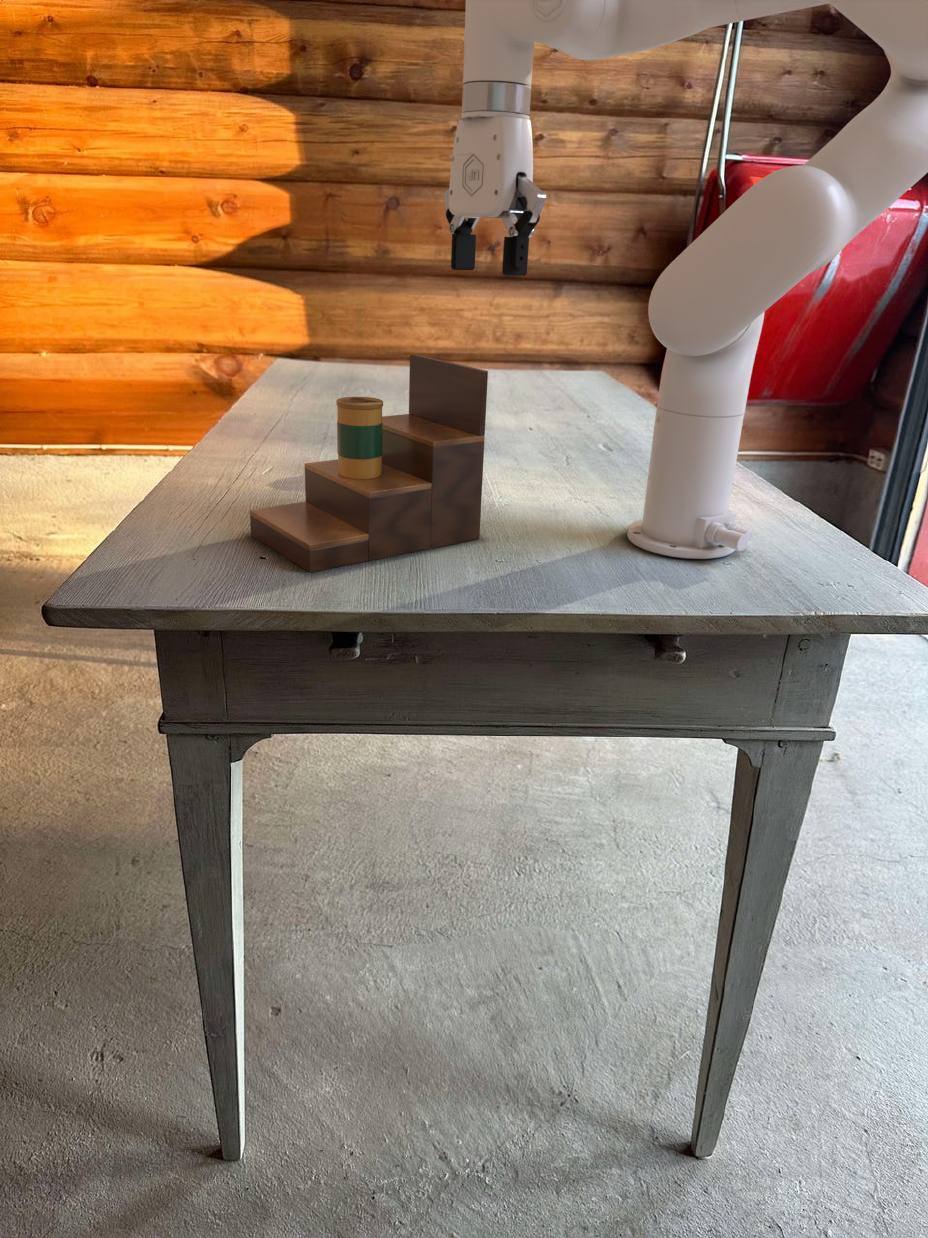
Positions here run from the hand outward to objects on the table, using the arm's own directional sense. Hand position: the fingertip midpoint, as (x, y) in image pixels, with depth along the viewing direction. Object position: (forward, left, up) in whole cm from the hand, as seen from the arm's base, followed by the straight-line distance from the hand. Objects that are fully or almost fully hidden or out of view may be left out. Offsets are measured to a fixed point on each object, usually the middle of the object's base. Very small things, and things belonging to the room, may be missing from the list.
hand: (487, 272), depth 107 cm
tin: (-4, +20, -21) cm, 29 cm away
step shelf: (-4, +19, -28) cm, 34 cm away
